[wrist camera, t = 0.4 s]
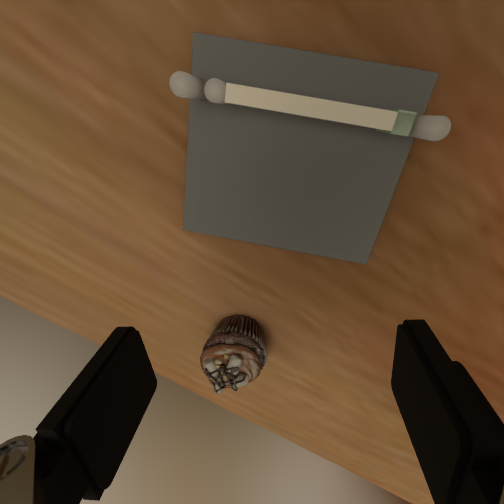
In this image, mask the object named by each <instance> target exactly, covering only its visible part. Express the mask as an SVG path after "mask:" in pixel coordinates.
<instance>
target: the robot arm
mask: <svg viewBox="0 0 504 504" xmlns="http://www.w3.org/2000/svg"><path fill="white" fill-rule="evenodd" d="M391 386H392V391H393V394H394V397H395V399H396V402H397V405H398V407H399V410H400V413H401V415H402V418H403V421H404V423H405V426H406V429H407V431H408V434H409V436H410V439H411V442H412V444H413V447H414V450H415V452H416V455H417V458H418V460H419V463H420V466H421V468H422V471H423V474H424V476H425V479H426V482H427V484H428V487H429V490H430V492H431V495H432V498H433V500H434V503H435V504H504V424H503V422H502V421H501V419H500V418H499V416H498V415H497V414H496V412H495V411H494V409H493V408H492V406H491V405H490V403H489V402H488V401H487V399H486V398H485V396H484V395H483V393H482V392H481V390H480V389H479V388H478V386H477V385H476V383H475V382H474V380H473V379H472V377H471V376H470V375H469V373H468V372H467V370H466V369H465V367H464V366H463V365H462V364H461V363H459V362H458V361H451V359H450V358H449V356H448V354H447V353H446V351H445V350H444V348H443V347H442V345H441V344H440V342H439V341H438V339H437V338H436V336H435V335H434V333H433V332H432V330H431V329H430V327H429V326H428V324H427V323H426V321H425V320H423V319H422V320H404V322H403V324H399V325H398V327H397V335H396V344H395V352H394V361H393V369H392V378H391ZM156 387H157V379H156V377H155V374H154V371H153V368H152V365H151V363H150V360H149V357H148V355H147V352H146V349H145V346H144V344H143V341H142V338H141V335H140V333H139V331H138V330H136V329H135V328H134V327H117V328H116V329H115V330H114V331H113V332H112V333H111V335H110V336H109V337H108V338H107V340H106V341H105V342H104V343H103V345H102V346H101V347H100V348H99V350H98V351H97V352H96V354H95V355H94V356H93V357H92V359H91V360H90V361H89V362H88V364H87V365H86V366H85V367H84V369H83V370H82V371H81V372H80V374H79V375H78V376H77V378H76V379H75V380H74V381H73V382H72V384H71V385H70V386H69V388H68V389H67V390H66V391H65V393H64V394H63V395H62V396H61V398H60V399H59V400H58V401H57V403H56V404H55V405H54V406H53V408H52V409H51V410H50V412H49V413H48V414H47V415H46V417H45V418H44V419H43V420H42V422H41V423H40V424H39V425H38V427H37V428H36V431H37V434H36V435H35V436H34V438H32V437H31V436H27V435H22V436H17V437H14V438H12V439H9V440H7V441H6V442H4V443H2V444H1V445H0V504H79V503H80V501H81V500H82V498H83V499H85V500H98V501H99V500H100V498H101V496H102V494H103V492H104V490H105V489H107V488H108V487H109V486H110V484H111V483H112V481H113V479H114V477H115V475H116V472H117V470H118V468H119V466H120V464H121V462H122V460H123V457H124V456H125V453H126V451H127V449H128V447H129V445H130V443H131V441H132V439H133V437H134V434H135V432H136V430H137V428H138V426H139V424H140V422H141V420H142V417H143V415H144V413H145V411H146V409H147V407H148V405H149V403H150V401H151V398H152V396H153V394H154V392H155V390H156Z"/></svg>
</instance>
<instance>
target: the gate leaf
mask: <svg viewBox="0 0 504 504" xmlns="http://www.w3.org/2000/svg"><path fill="white" fill-rule="evenodd" d="M204 93H205V96H206V98H207V99H208V100H209V101H210V102H213V103H220V104H229V103H232V104H238V105H243V106H249V107H255V108H261V109H266V110H272V111H278V112H284V113H290V114H295V115H301V116H307V117H313V118H318V119H324V120H330V121H336V122H341V123H347V124H353V125H359V126H365V127H370V128H376V131H381V132H386V133H391V134H396V135H402V136H408V135H409V133H410V130H411V127H412V125H413V122H414V119H415V117H416V114H417V112H411V111H405V110H399V109H398V110H384V109H378V108H372V107H366V106H360V105H355V104H349V103H343V102H337V101H331V100H325V99H320V98H314V97H308V96H302V95H296V94H290V93H284V92H279V91H273V90H267V89H261V88H255V87H249V86H244V85H238V84H232V83H226V82H224V81H222V80H219V79H217V78H211V79H209V80H208V81H207V82H206V84H205V87H204Z"/></svg>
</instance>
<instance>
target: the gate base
mask: <svg viewBox="0 0 504 504" xmlns="http://www.w3.org/2000/svg"><path fill="white" fill-rule="evenodd" d="M438 76H439V73H437V72H431V71H425V70H419V69H413V68H407V67H401V66H395V65H389V64H383V63H377V62H371V61H365V60H359V59H353V58H347V57H341V56H335V55H329V54H323V53H317V52H311V51H305V50H299V49H293V48H287V47H281V46H274V45H268V44H262V43H256V42H250V41H244V40H238V39H232V38H226V37H220V36H214V35H208V34H202V33H196V32H193V45H192V65H191V74H188V73H185V72H183V71H177V72H175V73H173V74H172V76H171V78H170V88H171V90H172V92H173V93H174V94H175V95H176V96H178V97H183V98H190V105H189V124H188V144H187V164H186V184H185V204H184V224H183V230H186V231H191V232H196V233H202V234H207V235H212V236H218V237H223V238H228V239H234V240H239V241H244V242H250V243H255V244H260V245H266V246H271V247H276V248H282V249H287V250H292V251H297V252H303V253H308V254H313V255H319V256H324V257H329V258H335V259H340V260H345V261H351V262H356V263H361V264H367V261H368V259H369V256H370V253H371V251H372V248H373V245H374V243H375V240H376V238H377V235H378V232H379V230H380V227H381V225H382V222H383V219H384V217H385V214H386V211H387V209H388V206H389V204H390V201H391V198H392V196H393V193H394V191H395V188H396V185H397V183H398V180H399V177H400V175H401V172H402V170H403V167H404V164H405V162H406V159H407V157H408V154H409V151H410V149H411V146H412V143H413V141H414V138H420V139H425V140H430V141H439V140H442V139H443V138H445V137H446V136H447V135H448V133H449V131H450V129H451V122H450V120H449V119H448V118H447V117H445V116H434V115H424V112H425V109H426V107H427V104H428V102H429V99H430V96H431V94H432V91H433V89H434V86H435V83H436V81H437V78H438ZM211 78H217V79H219V80H222V81H224V82H226V83H232V84H238V85H244V86H249V87H255V88H261V89H267V90H273V91H279V92H284V93H290V94H296V95H302V96H308V97H314V98H320V99H325V100H331V101H337V102H343V103H349V104H355V105H360V106H366V107H372V108H378V109H384V110H398V109H399V110H405V111H411V112H417V114H416V117H415V119H414V122H413V125H412V127H411V130H410V133H409V135H408V136H402V135H396V134H391V133H386V132H381V131H376V128H370V127H365V126H359V125H353V124H347V123H341V122H336V121H330V120H324V119H318V118H313V117H307V116H301V115H295V114H290V113H284V112H278V111H272V110H266V109H261V108H255V107H249V106H243V105H238V104H232V103H229V104H220V103H213V102H210V101H209V100H208V99H207V98H206V96H205V93H204V87H205V84H206V82H207V81H208V80H209V79H211Z"/></svg>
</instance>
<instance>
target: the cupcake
mask: <svg viewBox="0 0 504 504" xmlns="http://www.w3.org/2000/svg"><path fill="white" fill-rule="evenodd" d="M266 360H267V352H266V347H265V340H264V333H263V329H262V327H261V326H260V325H259V323H257V321H256V320H254V319H252V318H250V317H248V316H244V315H238V314H236V315H234V316H230V317H226V318H225V319H223V320H222V321H221V322H220V323H219V324H218V325H217V327H216V328H215V330H214V332H213V333H212V334H211V336H210V337H209V339H208V340H207V342H206V344H205V345H204V348H203V352H202V354H201V357H200V362H201V367H202V369H203V371H204V373H205V374H206V376H207V377H208V379H209V381H210V382H211V383H212V387H213V390H214V392H215V393H216V394H220V393H221V392H222V391H223V389H224V388H232V389H233V390H234V391H237V390H238V389H237V388H239V387H241V386H245V385H247V384H248V383H249V382H251V381H253V380H254V379H255V378H257V377H258V376H259V374H260V370H262V369H263V366H264V367H265V363H266Z"/></svg>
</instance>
